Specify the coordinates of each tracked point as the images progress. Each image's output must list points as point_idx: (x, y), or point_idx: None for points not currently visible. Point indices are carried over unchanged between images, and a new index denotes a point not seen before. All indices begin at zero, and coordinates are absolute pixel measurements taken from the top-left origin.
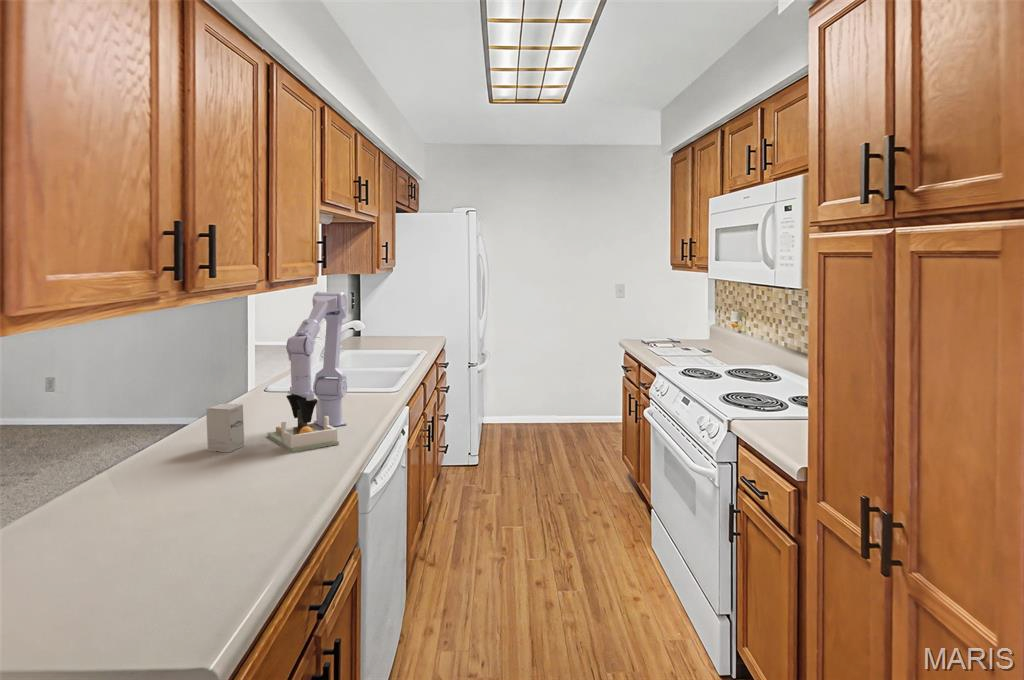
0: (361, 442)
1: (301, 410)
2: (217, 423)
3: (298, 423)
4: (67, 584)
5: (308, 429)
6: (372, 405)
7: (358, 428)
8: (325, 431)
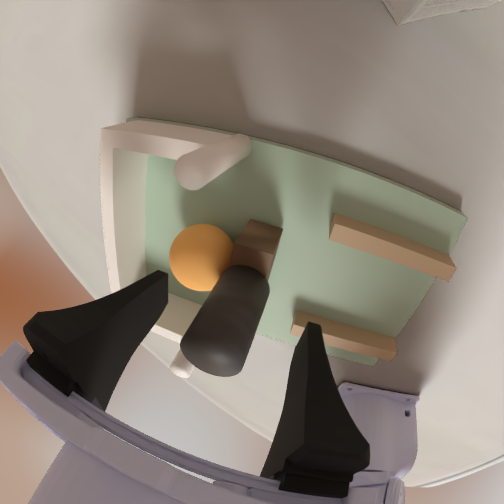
0: None
1: (104, 306)
2: None
3: (234, 279)
4: None
5: (170, 263)
6: None
7: (259, 403)
8: (110, 277)
